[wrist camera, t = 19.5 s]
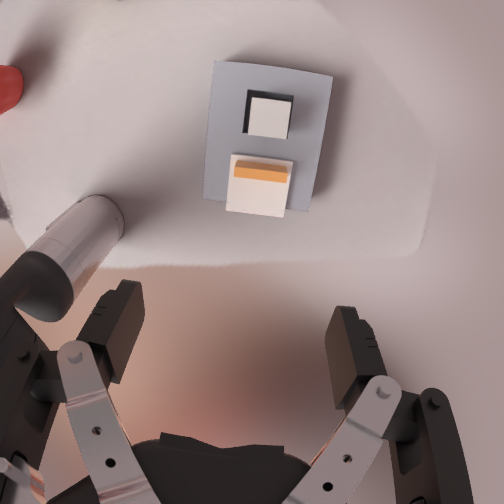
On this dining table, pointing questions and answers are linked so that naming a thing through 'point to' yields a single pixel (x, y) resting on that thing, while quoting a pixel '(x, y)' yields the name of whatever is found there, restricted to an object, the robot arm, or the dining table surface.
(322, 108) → the socket block
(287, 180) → the shutter
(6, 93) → the flower pot
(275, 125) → the plug
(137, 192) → the dining table surface
